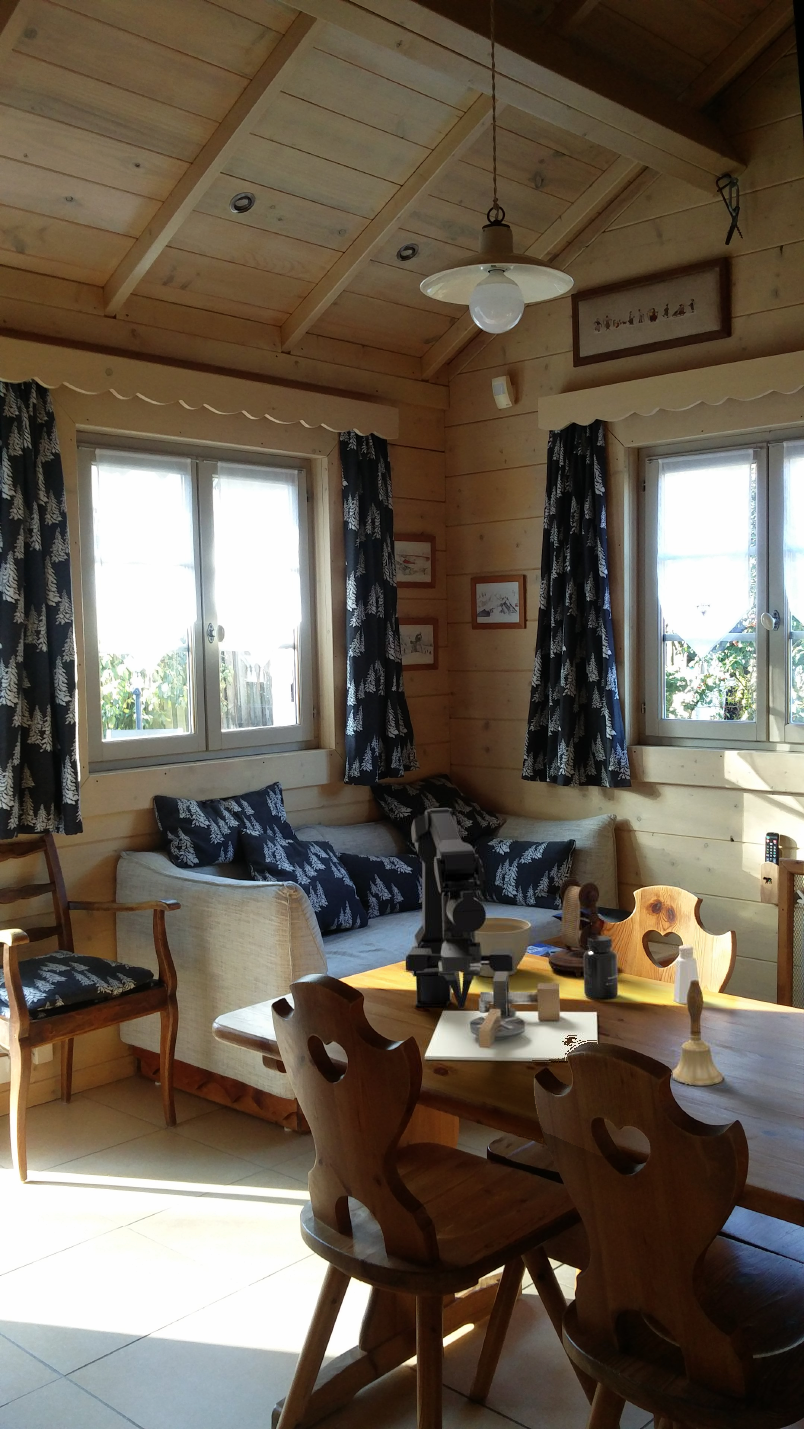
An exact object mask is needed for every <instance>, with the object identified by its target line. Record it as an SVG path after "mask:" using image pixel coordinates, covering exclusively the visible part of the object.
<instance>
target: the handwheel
mask: <svg viewBox="0 0 804 1429" xmlns="http://www.w3.org/2000/svg"><path fill="white" fill-rule="evenodd" d="M489 1009H490V1011H489V1013H488V1015H487V1016H482V1017H478V1018H476V1019H473V1020H472V1021H471V1022H470V1031H471V1033H473V1034H474V1035H477V1036H479V1048H490V1046H491V1044H492V1042H493V1040H494V1038H508V1037H513V1036H517V1035H520V1034H522V1033H523V1032H524V1031H525V1022H524V1021H523V1020H522V1019H520V1018H518V1017H514V1016H508V1015H501V1014H500V1009H493V1008H489Z"/></svg>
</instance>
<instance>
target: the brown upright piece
mask: <svg viewBox="0 0 804 1429" xmlns="http://www.w3.org/2000/svg"><path fill="white" fill-rule="evenodd" d="M559 895H560V898H561V900H562V901H563V902H562V909H561V939H562V942H563V943H564V946H565V948H564V949H561V950H557V951H556V952H554V953H552V954H551V955H549V956H548V965H549V966H550V968H551V969H558V970H561V971H567V972H568V971H569V972H575V975H576V978H580V977H581V973H582V972H584V953H585V952H586V951H587V950H589V947H588V938H589V937H591V936H602V935H601V934H602V932H601V930H600V928H599V926H597V925H598V922H599V920H600V916H599V914H598V913H597V912H598V908H597V903H598V901H599V897H600V890H599V887H598V886H597V885H596V884H595V883H593V882H590V881H589V882H585V883H584V884H583V885H582V886H581V885H580V882H579V880H577V879H576V878H573V877H571V878H570V877H569V878H567V879H565V880H564V881H563V883H561V885H560V890H559ZM589 911H590V912H589ZM581 919H585V920H588V921H589V922H590V923H589V924H587V925H586V926H584V927H583V926H582V924H581Z"/></svg>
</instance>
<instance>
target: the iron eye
mask: <svg viewBox="0 0 804 1429" xmlns="http://www.w3.org/2000/svg"><path fill="white" fill-rule="evenodd" d="M509 976H510V975H509V972H495V975H494V977H493V978H492V992H493V1001H494V1004H493V1007H492V1009H500V1014H501V1015H508V1016H514V1014H515V1011H516V1007H511V1005H510V1004H507V992H510V978H509Z"/></svg>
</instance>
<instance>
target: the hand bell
mask: <svg viewBox="0 0 804 1429" xmlns="http://www.w3.org/2000/svg"><path fill="white" fill-rule="evenodd" d="M686 1005H687V1011H688V1014H689V1018H690V1027H689V1028H690V1031H689V1032H690V1035H689V1037H690V1038H689V1040H688V1041H685V1042H684V1043H683V1044H682V1046H681V1052H680V1054H681V1055H680V1058H679V1059H680V1060H679V1062H678V1064H677V1066H676V1068H674V1069H673V1070H672V1072H673V1078H674V1077H675V1080H676V1079H677V1081H680V1082H683V1083H685V1084H684V1085H687V1084H689V1085H688V1086H698V1087H699V1086H701V1087H703V1086H711V1085H715V1084H719V1083H721V1082H723V1079H724V1076H723V1074H722V1072H721V1071H720V1070H719V1069H718V1068H717V1067H716V1065H715V1063H714V1061H713V1057H712V1053H711V1046H710V1045H709V1043H707V1042H705V1041H703V1040H702V1031H701V1016H702V1013H703V1007H704V996H703V991H702V988H701V986H700V980H699V981H697V980H691V982H690V987H689V990H688V993H687V1004H686ZM675 1080H674V1081H675ZM677 1081H676V1082H677Z"/></svg>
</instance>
